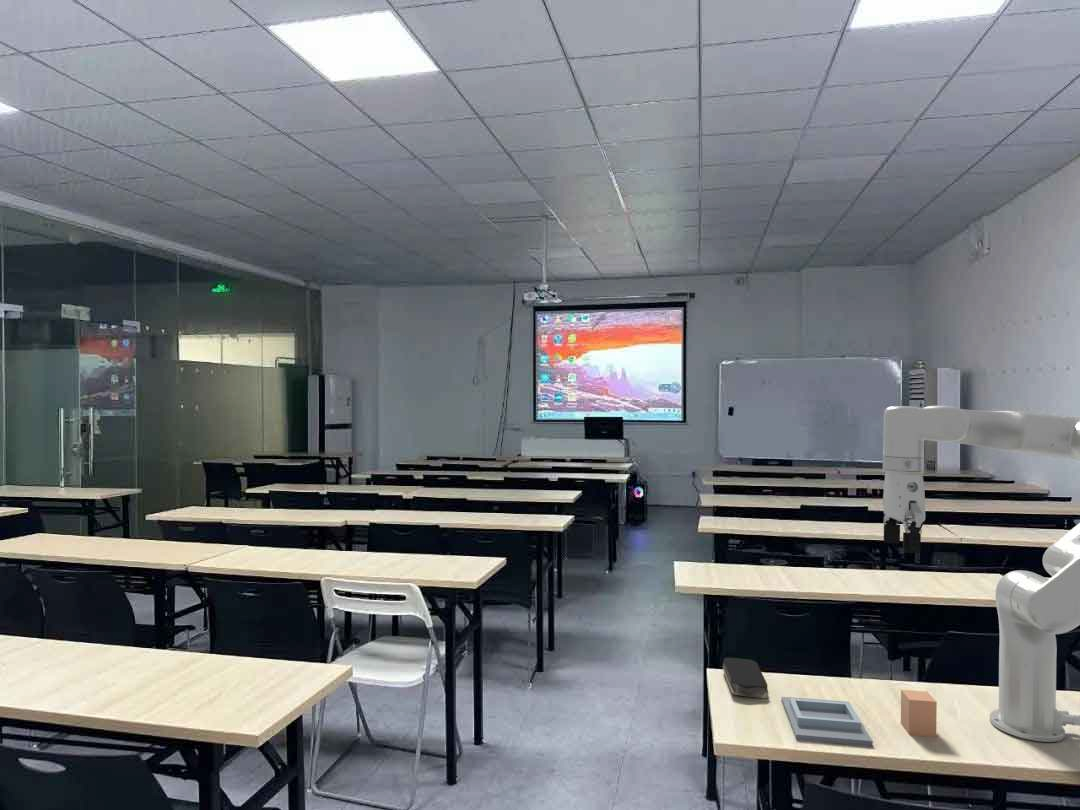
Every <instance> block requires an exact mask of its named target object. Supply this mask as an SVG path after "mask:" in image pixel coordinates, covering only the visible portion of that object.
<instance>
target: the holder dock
mask: <svg viewBox="0 0 1080 810" xmlns="http://www.w3.org/2000/svg"><path fill="white" fill-rule="evenodd" d="M780 698H781V700H780V702H781V704H782V707H783V710H784V712H785V714H786V717H787V719H788V723H789V725H790V727H791V730H792V733H793V735H794V739H795V740H797V741H805V742H806V741H808V742H817V743H818V742H819V743H820V742H821V743H830V744H831V743H832V744H843V745H853V746H866V747H873V746H874V740H873V738H872V737H871V736H870V734H869V733H868V731H867V730H866V728H865V726H864V725H863V722H862V721H861V719H860V717H859V716H858V714H857V713H856V711H855V709H854V708H853V706H852V705H851V703H850V702H849V701H845V700H844V701H843V700H831V699H820V698H805V697H793V696H791V697H790V696H781V697H780Z"/></svg>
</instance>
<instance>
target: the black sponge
mask: <svg viewBox="0 0 1080 810" xmlns="http://www.w3.org/2000/svg"><path fill="white" fill-rule="evenodd" d="M722 672H723V673H724V677H725V678H726V682H727V684H728V686H729V689H730V691H731V693H732V694H733V695H737V696H742V697H751V698H757V699H758V698H759V699H767V698H768V697H769V691H768V690H769V689H768V683H767V681H766V679H765V676H764V674H763V673H762V670H761V669H760V667H759V665H758V662H757V661H755V660H752V659H747V658H746V659H745V658H737V657H725V658H724V659H723V663H722Z"/></svg>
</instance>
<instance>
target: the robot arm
mask: <svg viewBox="0 0 1080 810" xmlns="http://www.w3.org/2000/svg"><path fill="white" fill-rule="evenodd" d="M882 433H883V436H882V437H883V440H882V441H883V444H882V448H883V449H882V472H884V473H885V474H884V481H883V482H884V483H883V493H882V494H883V495H882V499H883V500H882V507H883V508H882V514H883V520H882V521H883V543H886V544H899V543H900V542H901V524H899V522H901V523H902V525H903V528H904V531H905V532H904V531H903V532H902V551H903V552H904V553H905V554H919V553H921V549H922V547H921V546H922V545H921V540H922V537H921V536H922V531H923V529H922V528H923V527H924V526H923V525H924V524H923V522H925V521H926V496H925V485H924V484H925V483H924V482H925V481H924V476H923V474H924V457H925V456H924V454H925V453H924V450H925V449H924V448H925V441H931V442H939V443H945V444H949V443H950V444H961V445H969V446H976V447H983V448H987V449H988V448H989V449H992V450H997V451H1001V452H1009V453H1016V454H1022V455H1023V454H1025V455H1035V456H1043V457H1051V458H1061V459H1062V458H1063V459H1069V460H1077V461H1078V460H1080V416H1070V415H1059V414H1051V413H1041V412H1032V411H1025V410H1024V411H1021V410H979V409H978V410H975V409H967V408H966V409H965V408H959V407H956V406H951V405H929V406H928V405H927V406H925V407H918V406H913V405H912V406H911V405H910V406H907V405H902V406H901V405H896V406H894V405H893V406H888V407H887V408H886V409H884V411H883V432H882ZM1041 561H1042V565H1043V568H1044V570H1045V571H1046V572H1047V574H1048V575H1050V576H1051V577H1050V578H1048V577H1044V576H1042V575H1041V574H1037V573H1035V572H1033V571H1029V570H1021V569H1020V570H1018V569H1017V570H1013V571H1009V572H1008V573H1006V574H1004V575H1003V576H1002V577H1001V578H1000V579H999V581H998V583H996V584H997V585H996V587H995V603H996V610H997V615H998V624H999V625H998V629H999V647H998V649H999V650H998V651H999V652H998V657H999V658H998V709H995V710H993V711H991V712H990V714H989V722H990V723H991V724H992V726H994V727H995V728H997V729H998V730H1000V731H1002V732H1004V733H1006V734H1009V735H1012V736H1014V737H1017V738H1020V739H1025V740H1028V741H1034V742H1041V743H1054V742H1060V741H1062V740H1064V739H1065V737H1066V730H1065V728H1064V727H1065V726H1067V725H1071V726H1079V727H1080V714H1079V715H1078V714H1077V715H1076V714H1069V711H1068V710H1058V708H1056V705H1057V655H1058V654H1057V648H1058V646H1057V637H1056V635H1060V634H1061V635H1062V634H1065V633H1069V632H1070V631H1072V630H1074V629H1076V628H1077V627H1079V626H1080V522H1079V523H1078V524H1077V525H1075V526H1074V527H1072V528H1071V529H1070V530H1069V531H1067V532H1066V533H1065V534H1064V535H1062V536H1061V537H1060V538H1058V539H1057V540H1056V541H1055V542H1054V543H1052V544H1051V545H1049V546H1048V548H1047V549H1046V550H1045V552H1044V553H1043V555H1042V560H1041Z"/></svg>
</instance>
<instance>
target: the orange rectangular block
mask: <svg viewBox="0 0 1080 810" xmlns="http://www.w3.org/2000/svg"><path fill="white" fill-rule="evenodd" d="M937 711H938V710H937V700H936V699H935V698H934V697H933V696H932V695H931V694H930V693H929V692H928V691H924V690H911V689H900V725H901V726H902V727H903V729H904V730H905V731H906V733H907V734H908V736H920V737H932V738H936V737H937V713H938V712H937Z"/></svg>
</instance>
